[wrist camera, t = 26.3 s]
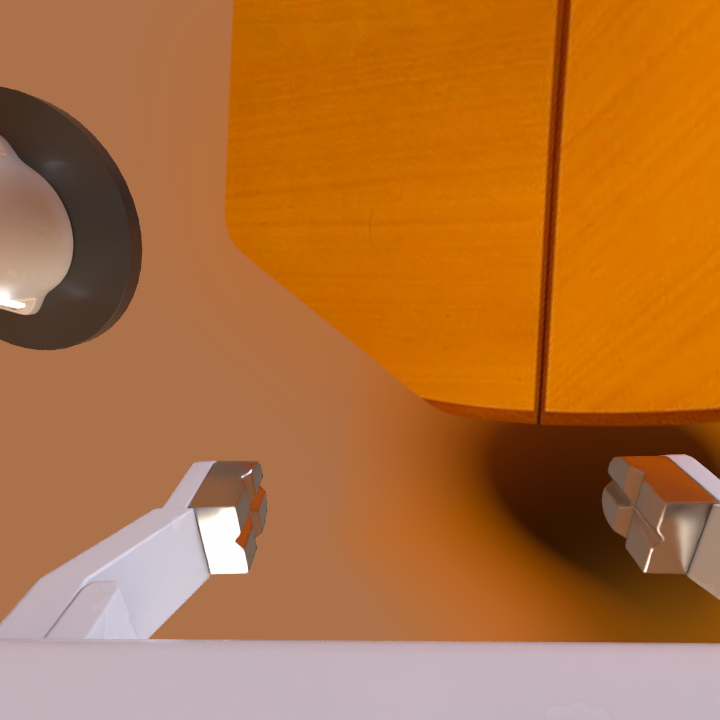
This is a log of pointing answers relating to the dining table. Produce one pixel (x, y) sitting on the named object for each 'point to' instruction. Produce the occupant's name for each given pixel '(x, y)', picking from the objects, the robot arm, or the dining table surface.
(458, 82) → the dining table surface
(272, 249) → the dining table surface
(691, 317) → the dining table surface
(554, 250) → the dining table surface
